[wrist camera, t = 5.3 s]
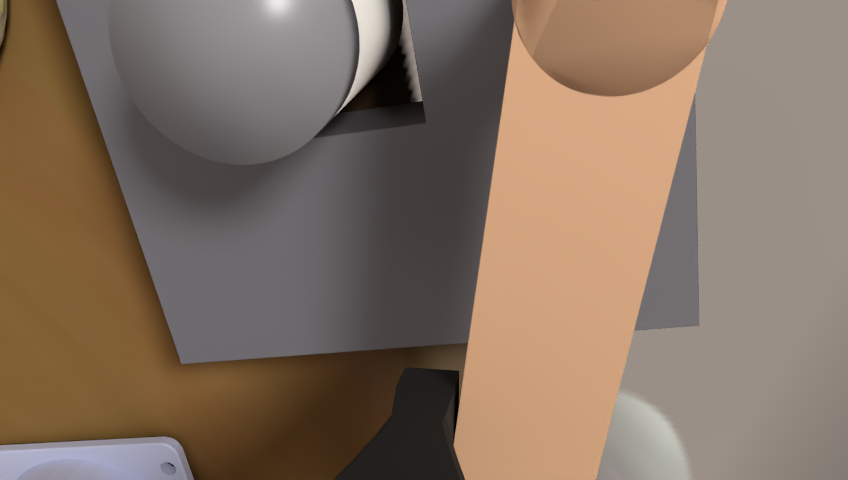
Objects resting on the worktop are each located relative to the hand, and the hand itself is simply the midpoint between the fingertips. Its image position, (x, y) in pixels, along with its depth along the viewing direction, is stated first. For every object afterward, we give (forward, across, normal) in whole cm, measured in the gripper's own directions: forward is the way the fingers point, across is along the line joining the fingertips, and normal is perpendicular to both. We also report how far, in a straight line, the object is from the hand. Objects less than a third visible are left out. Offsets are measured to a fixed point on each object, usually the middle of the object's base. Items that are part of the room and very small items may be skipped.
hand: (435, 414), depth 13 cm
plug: (+7, +4, -6) cm, 10 cm away
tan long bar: (0, -2, -3) cm, 3 cm away
